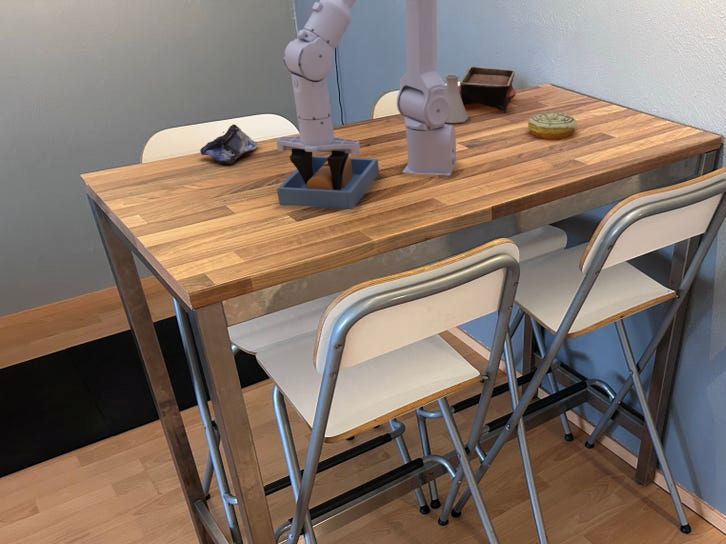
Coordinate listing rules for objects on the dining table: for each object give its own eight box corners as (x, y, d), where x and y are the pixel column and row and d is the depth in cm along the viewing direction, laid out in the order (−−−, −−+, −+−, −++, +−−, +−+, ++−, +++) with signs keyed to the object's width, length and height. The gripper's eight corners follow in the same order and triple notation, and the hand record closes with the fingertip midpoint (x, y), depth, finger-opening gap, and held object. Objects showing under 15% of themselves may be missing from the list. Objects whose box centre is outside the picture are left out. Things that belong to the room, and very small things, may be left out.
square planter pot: (521, 106, 190) (520, 64, 186) (508, 115, 174) (507, 69, 170) (467, 107, 193) (465, 66, 189) (449, 116, 178) (446, 71, 173)
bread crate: (379, 176, 144) (377, 158, 142) (353, 212, 130) (350, 192, 128) (312, 173, 146) (310, 155, 144) (279, 207, 132) (276, 188, 130)
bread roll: (341, 190, 137) (339, 166, 135) (331, 203, 132) (328, 178, 130) (319, 189, 138) (316, 165, 135) (308, 201, 133) (304, 177, 130)
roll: (353, 176, 143) (350, 153, 140) (343, 187, 138) (341, 164, 136) (331, 175, 144) (328, 151, 141) (321, 186, 139) (318, 162, 136)
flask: (467, 124, 171) (467, 79, 166) (436, 124, 172) (435, 79, 166) (468, 114, 177) (468, 71, 172) (438, 115, 178) (437, 71, 172)
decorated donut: (585, 135, 164) (587, 118, 162) (547, 144, 160) (548, 126, 157) (556, 123, 172) (557, 106, 169) (519, 131, 167) (519, 114, 164)
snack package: (272, 158, 154) (253, 141, 161) (262, 129, 149) (243, 113, 157) (217, 179, 150) (201, 161, 157) (205, 150, 145) (189, 133, 153)
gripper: (265, 120, 124) (278, 196, 132) (347, 124, 123) (356, 201, 130) (280, 108, 130) (292, 182, 138) (360, 111, 128) (367, 186, 136)
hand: (324, 190), depth 134 cm, fingers closed on bread roll, 4 cm apart
